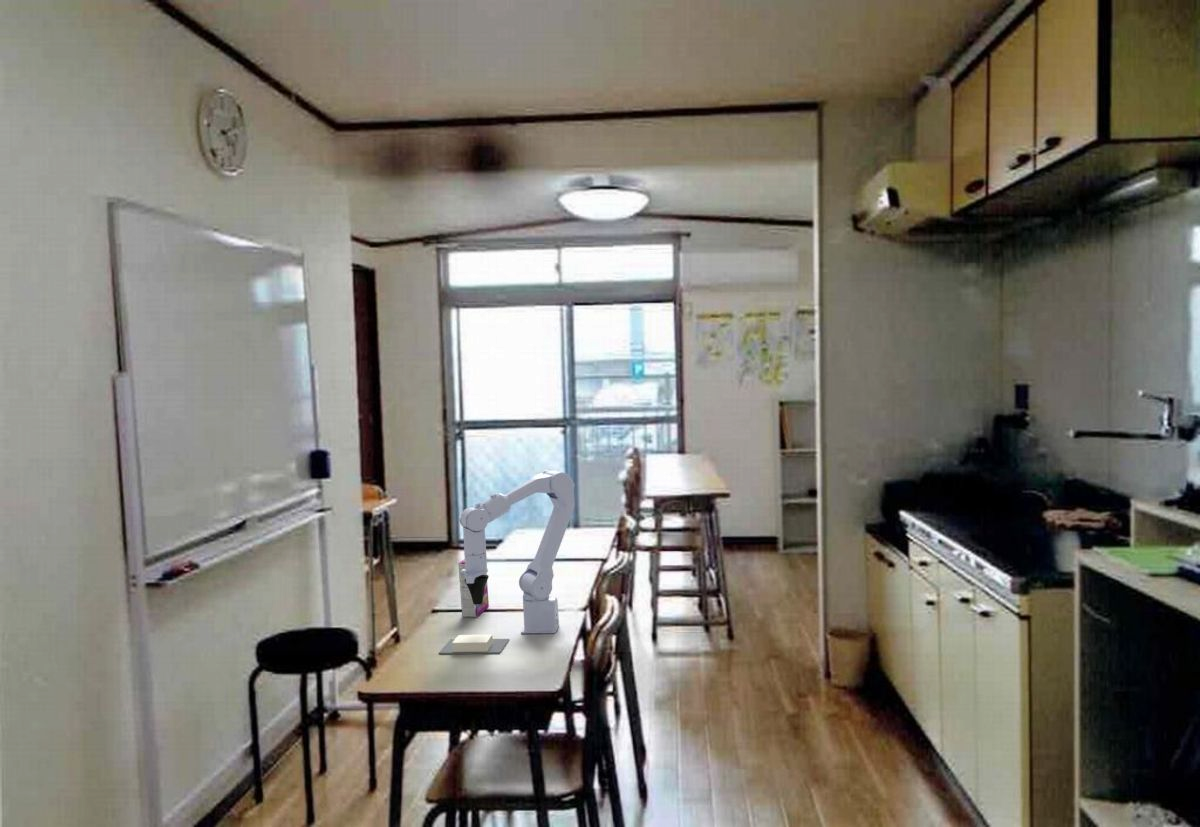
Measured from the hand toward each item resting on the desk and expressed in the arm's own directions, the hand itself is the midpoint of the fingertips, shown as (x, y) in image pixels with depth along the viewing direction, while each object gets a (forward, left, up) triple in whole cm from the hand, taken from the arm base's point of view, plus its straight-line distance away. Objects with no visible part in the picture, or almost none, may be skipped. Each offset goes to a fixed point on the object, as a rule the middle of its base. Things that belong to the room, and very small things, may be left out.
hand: (477, 603), depth 234 cm
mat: (0, +5, -10) cm, 11 cm away
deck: (0, +4, -8) cm, 9 cm away
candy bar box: (+8, -27, -10) cm, 30 cm away
